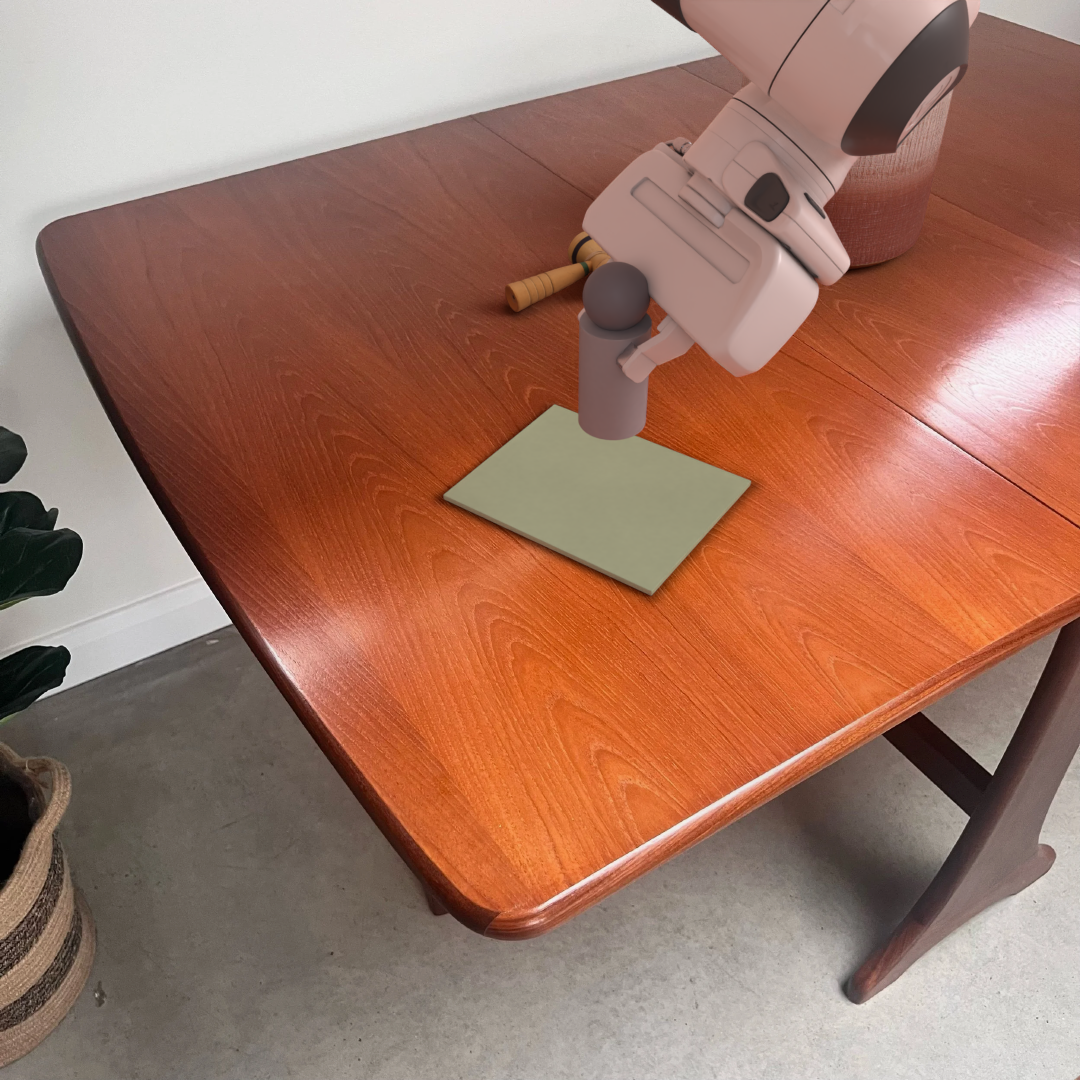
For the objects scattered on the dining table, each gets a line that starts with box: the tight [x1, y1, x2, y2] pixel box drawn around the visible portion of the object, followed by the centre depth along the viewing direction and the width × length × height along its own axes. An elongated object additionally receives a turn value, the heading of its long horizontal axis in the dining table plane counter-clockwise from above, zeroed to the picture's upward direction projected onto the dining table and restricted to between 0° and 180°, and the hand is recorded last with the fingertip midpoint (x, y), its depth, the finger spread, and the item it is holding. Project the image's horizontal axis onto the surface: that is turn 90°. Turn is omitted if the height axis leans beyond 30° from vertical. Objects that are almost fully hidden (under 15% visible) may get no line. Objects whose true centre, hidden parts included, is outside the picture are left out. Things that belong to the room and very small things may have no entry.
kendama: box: [504, 230, 611, 313], centre depth 111 cm, size 8×6×18 cm
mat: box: [443, 403, 752, 596], centre depth 86 cm, size 20×16×1 cm
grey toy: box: [577, 262, 653, 440], centre depth 70 cm, size 5×5×12 cm
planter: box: [740, 73, 955, 270], centre depth 115 cm, size 22×22×20 cm
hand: (606, 351), depth 70 cm, fingers closed on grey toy, 5 cm apart
